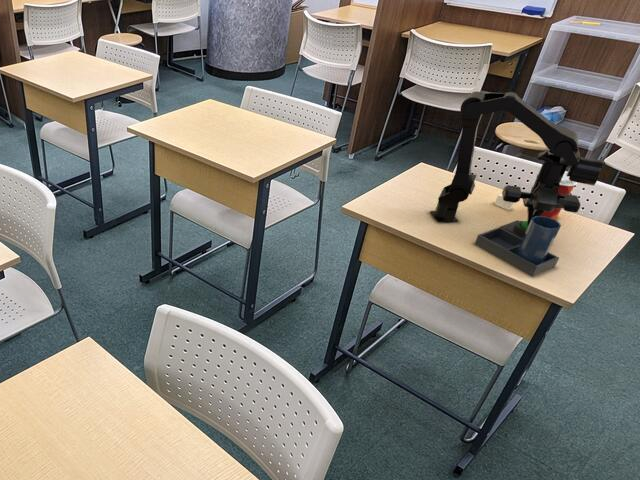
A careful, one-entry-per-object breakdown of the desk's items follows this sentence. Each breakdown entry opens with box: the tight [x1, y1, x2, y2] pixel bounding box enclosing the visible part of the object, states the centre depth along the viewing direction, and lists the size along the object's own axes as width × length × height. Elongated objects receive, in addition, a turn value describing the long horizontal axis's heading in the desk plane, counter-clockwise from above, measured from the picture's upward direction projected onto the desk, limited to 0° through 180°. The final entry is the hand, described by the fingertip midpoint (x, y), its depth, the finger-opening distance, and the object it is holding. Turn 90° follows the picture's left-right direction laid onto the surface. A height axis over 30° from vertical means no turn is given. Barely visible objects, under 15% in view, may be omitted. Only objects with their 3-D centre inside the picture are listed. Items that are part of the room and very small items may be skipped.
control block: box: [499, 220, 527, 239], centre depth 165 cm, size 11×8×4 cm
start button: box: [521, 220, 529, 229], centre depth 163 cm, size 4×4×2 cm
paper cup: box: [540, 172, 578, 220], centre depth 172 cm, size 8×8×14 cm
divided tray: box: [474, 226, 560, 278], centre depth 157 cm, size 18×10×3 cm, turn 26°
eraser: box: [494, 193, 514, 211], centre depth 180 cm, size 1×5×4 cm, turn 32°
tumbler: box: [516, 216, 562, 265], centre depth 151 cm, size 7×7×13 cm
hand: (528, 223), depth 163 cm, fingers closed, pressing on start button
